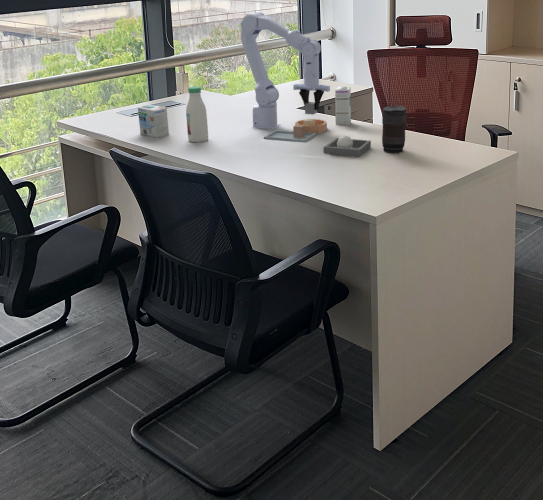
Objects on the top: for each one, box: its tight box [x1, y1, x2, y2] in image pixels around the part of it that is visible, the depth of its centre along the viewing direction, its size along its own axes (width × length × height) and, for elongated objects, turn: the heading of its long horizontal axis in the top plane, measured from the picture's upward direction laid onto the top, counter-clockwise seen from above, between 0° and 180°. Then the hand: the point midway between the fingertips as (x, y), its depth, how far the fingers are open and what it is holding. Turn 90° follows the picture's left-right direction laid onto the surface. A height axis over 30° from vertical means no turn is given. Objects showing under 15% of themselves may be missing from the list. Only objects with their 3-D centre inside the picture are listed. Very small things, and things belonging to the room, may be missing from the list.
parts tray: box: [263, 129, 317, 143], centre depth 257 cm, size 17×11×1 cm, turn 65°
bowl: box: [294, 118, 328, 134], centre depth 265 cm, size 12×12×3 cm
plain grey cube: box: [304, 101, 318, 115], centre depth 262 cm, size 4×4×4 cm
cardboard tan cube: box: [292, 125, 305, 137], centre depth 256 cm, size 4×4×4 cm
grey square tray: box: [323, 137, 372, 158], centre depth 237 cm, size 13×13×3 cm
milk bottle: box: [185, 86, 209, 143], centre depth 255 cm, size 8×8×20 cm
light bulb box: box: [137, 104, 170, 138], centre depth 268 cm, size 11×7×11 cm, turn 47°
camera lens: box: [381, 105, 407, 154], centre depth 233 cm, size 8×8×15 cm
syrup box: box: [334, 86, 352, 127], centre depth 272 cm, size 6×6×14 cm
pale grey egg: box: [336, 135, 353, 149], centre depth 237 cm, size 8×6×6 cm
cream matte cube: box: [302, 118, 316, 126], centre depth 263 cm, size 4×4×4 cm
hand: (311, 109), depth 263 cm, fingers closed on plain grey cube, 3 cm apart
